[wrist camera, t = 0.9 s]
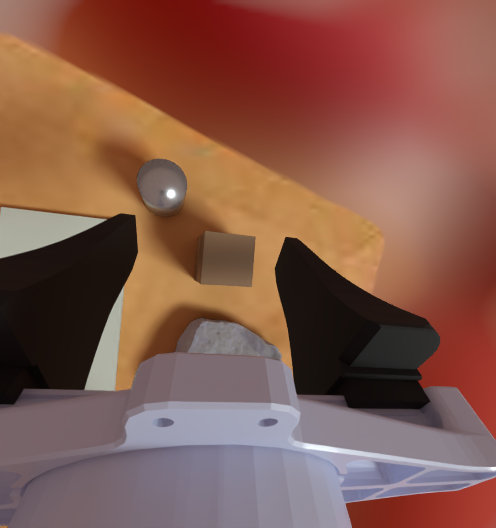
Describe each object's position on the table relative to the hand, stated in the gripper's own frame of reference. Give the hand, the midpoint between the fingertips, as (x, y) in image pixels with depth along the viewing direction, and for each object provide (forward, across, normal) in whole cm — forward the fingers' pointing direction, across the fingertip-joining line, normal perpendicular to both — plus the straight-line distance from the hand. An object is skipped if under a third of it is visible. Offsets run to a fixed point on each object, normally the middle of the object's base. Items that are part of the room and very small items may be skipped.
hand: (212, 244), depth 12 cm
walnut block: (+12, -1, +10) cm, 15 cm away
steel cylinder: (+15, +5, +5) cm, 16 cm away
